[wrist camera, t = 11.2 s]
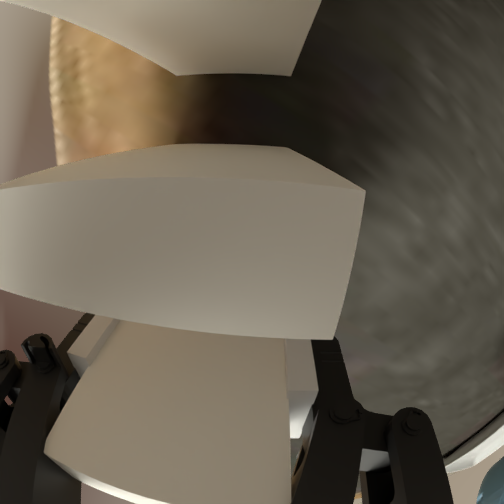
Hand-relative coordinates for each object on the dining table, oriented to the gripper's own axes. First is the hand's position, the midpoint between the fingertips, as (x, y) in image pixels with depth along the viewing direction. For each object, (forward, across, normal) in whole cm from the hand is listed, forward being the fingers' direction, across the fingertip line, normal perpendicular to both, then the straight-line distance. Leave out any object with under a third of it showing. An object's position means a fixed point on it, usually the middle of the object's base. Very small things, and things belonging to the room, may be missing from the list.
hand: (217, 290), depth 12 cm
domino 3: (+1, 0, 0) cm, 1 cm away
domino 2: (+3, 0, -6) cm, 6 cm away
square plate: (+3, -55, +35) cm, 65 cm away
